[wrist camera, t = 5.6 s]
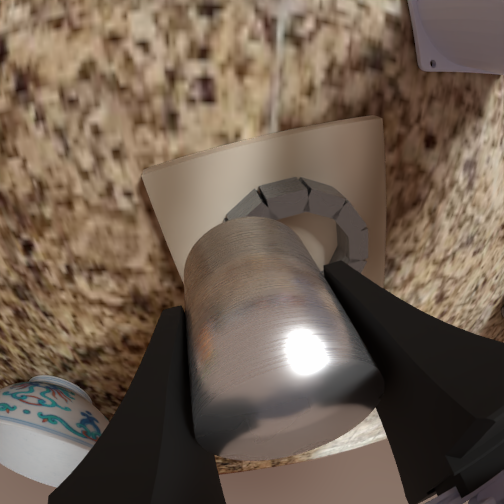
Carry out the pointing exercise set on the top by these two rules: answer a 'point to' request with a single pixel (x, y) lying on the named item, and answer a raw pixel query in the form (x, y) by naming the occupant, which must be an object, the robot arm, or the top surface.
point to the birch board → (271, 170)
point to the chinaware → (47, 428)
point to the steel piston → (270, 346)
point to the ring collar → (313, 201)
